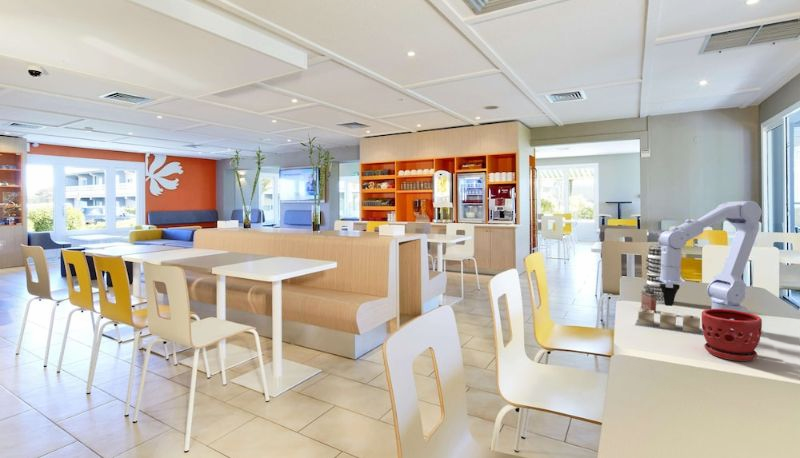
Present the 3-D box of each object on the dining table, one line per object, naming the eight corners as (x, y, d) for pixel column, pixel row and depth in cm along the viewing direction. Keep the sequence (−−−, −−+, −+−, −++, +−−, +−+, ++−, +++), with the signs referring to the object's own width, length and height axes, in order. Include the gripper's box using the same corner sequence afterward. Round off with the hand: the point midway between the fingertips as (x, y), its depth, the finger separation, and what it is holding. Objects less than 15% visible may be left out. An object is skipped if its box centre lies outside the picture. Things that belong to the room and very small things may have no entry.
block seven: (653, 323, 146) (654, 310, 146) (652, 326, 142) (653, 313, 142) (639, 321, 148) (639, 308, 148) (637, 324, 145) (638, 311, 144)
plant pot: (701, 344, 125) (703, 305, 124) (758, 354, 116) (761, 313, 116) (698, 356, 115) (700, 314, 114) (760, 368, 106) (763, 323, 106)
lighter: (658, 313, 161) (659, 288, 160) (649, 313, 161) (650, 288, 160) (646, 308, 169) (647, 284, 168) (638, 308, 169) (639, 284, 168)
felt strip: (701, 329, 140) (701, 328, 140) (702, 336, 133) (702, 335, 132) (637, 320, 151) (637, 319, 151) (634, 326, 143) (634, 325, 143)
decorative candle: (639, 299, 186) (641, 244, 185) (655, 297, 189) (657, 243, 188) (657, 303, 178) (660, 246, 176) (673, 302, 180) (676, 245, 179)
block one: (698, 329, 138) (699, 316, 138) (699, 333, 135) (700, 319, 134) (682, 327, 141) (683, 314, 141) (682, 330, 137) (683, 317, 137)
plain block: (675, 326, 142) (676, 313, 142) (675, 329, 138) (676, 316, 138) (660, 324, 145) (660, 311, 144) (659, 327, 141) (660, 314, 141)
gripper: (657, 262, 149) (656, 299, 149) (655, 267, 137) (654, 307, 137) (681, 264, 145) (679, 302, 145) (681, 269, 133) (679, 311, 133)
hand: (668, 305), depth 141 cm, fingers closed
